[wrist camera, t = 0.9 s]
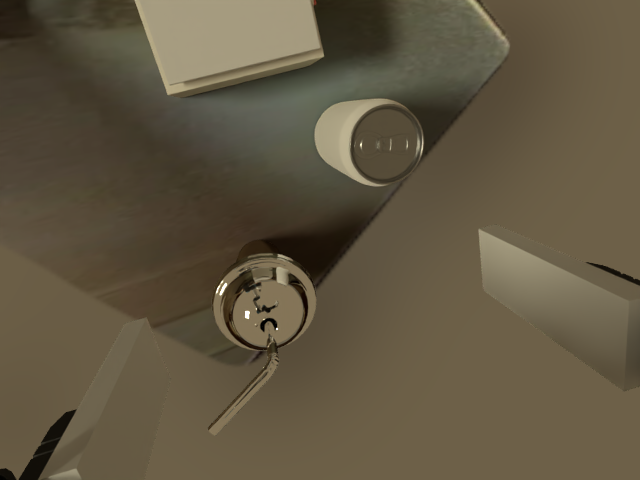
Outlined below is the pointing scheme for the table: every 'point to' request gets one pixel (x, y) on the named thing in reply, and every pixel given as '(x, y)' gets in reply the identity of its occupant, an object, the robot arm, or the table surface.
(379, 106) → the can
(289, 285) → the cup with straw
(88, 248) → the table surface
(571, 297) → the robot arm
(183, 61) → the scale
